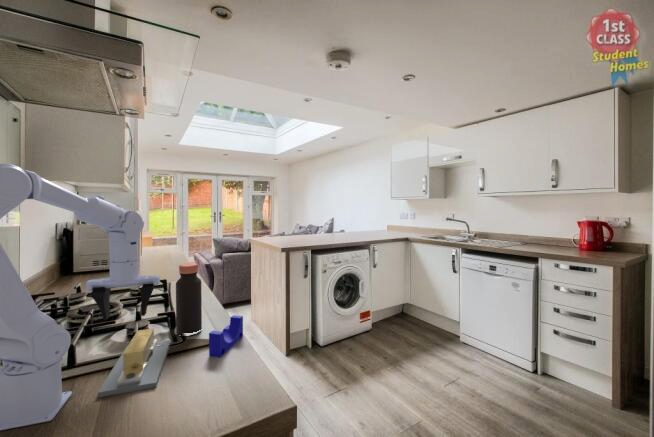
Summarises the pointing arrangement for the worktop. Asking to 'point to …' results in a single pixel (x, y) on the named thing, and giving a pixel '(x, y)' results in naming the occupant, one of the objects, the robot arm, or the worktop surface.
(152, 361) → the slate board
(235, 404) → the worktop surface
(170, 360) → the worktop surface
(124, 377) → the mounting blocks
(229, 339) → the cable clip
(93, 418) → the worktop surface
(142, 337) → the link bar
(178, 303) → the bottle
